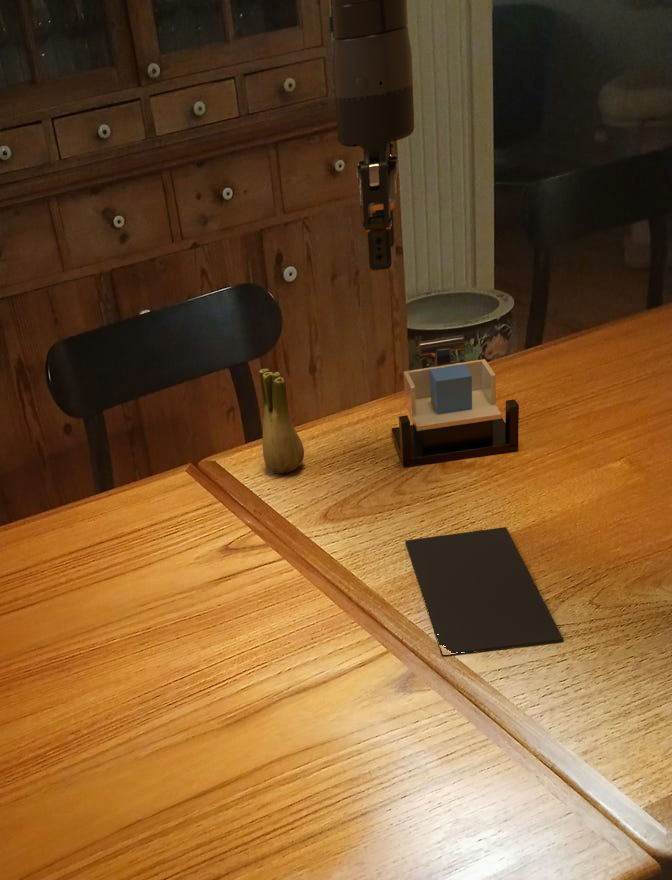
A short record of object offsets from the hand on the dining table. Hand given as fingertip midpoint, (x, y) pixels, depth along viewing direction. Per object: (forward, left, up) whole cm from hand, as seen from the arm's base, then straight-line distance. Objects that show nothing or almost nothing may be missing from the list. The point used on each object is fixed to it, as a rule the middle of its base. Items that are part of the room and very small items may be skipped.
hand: (382, 257), depth 105 cm
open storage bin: (-7, -2, -19) cm, 20 cm away
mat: (-3, +32, -23) cm, 39 cm away
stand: (-7, 0, -23) cm, 24 cm away
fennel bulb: (+13, 0, -23) cm, 26 cm away
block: (-7, -1, -18) cm, 19 cm away
